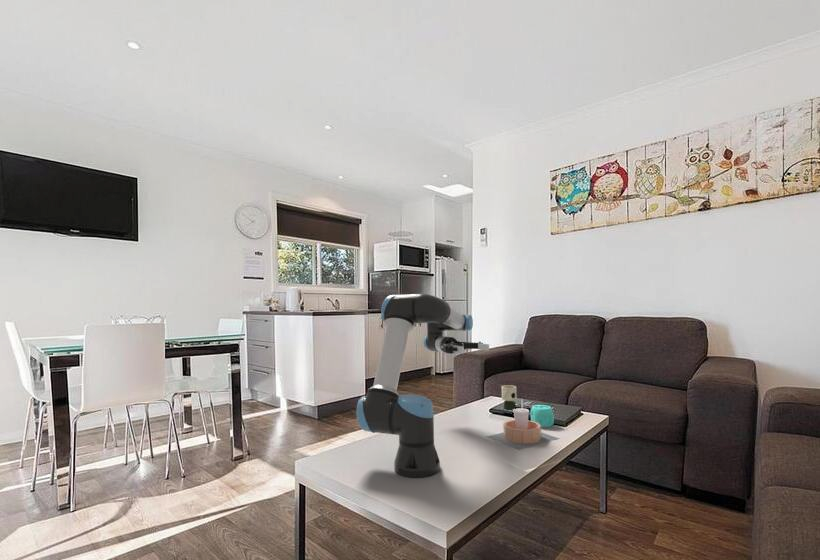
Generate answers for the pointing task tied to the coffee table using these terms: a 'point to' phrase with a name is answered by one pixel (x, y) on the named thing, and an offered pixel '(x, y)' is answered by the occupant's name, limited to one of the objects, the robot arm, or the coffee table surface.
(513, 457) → the coffee table surface
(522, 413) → the smoothie
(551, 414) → the decorative dice
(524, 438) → the bowl
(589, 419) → the coffee table surface
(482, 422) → the coffee table surface
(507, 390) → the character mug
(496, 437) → the mat
